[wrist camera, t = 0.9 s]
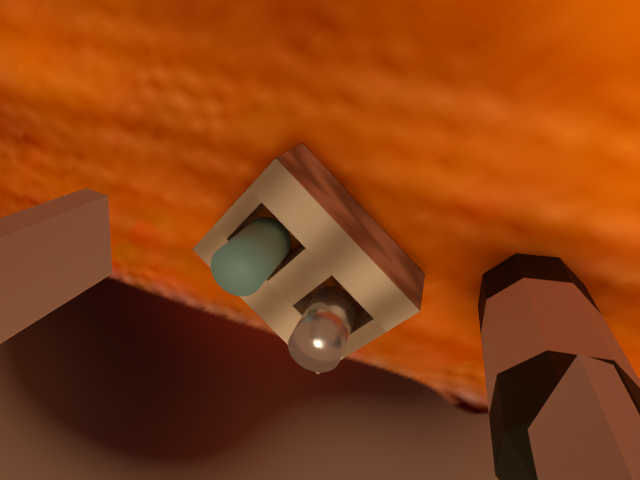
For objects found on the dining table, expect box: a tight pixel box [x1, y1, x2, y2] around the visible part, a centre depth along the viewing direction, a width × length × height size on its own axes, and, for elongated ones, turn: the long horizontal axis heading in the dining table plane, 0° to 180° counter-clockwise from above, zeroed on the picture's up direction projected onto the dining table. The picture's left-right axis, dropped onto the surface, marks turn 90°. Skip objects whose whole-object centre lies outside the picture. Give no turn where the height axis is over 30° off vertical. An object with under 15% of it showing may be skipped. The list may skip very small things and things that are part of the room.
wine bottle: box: [478, 254, 640, 480], centre depth 21 cm, size 8×8×30 cm
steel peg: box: [288, 287, 357, 372], centre depth 31 cm, size 4×4×6 cm
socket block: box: [192, 143, 425, 374], centre depth 35 cm, size 16×12×6 cm
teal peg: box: [211, 217, 291, 296], centre depth 31 cm, size 4×4×6 cm
